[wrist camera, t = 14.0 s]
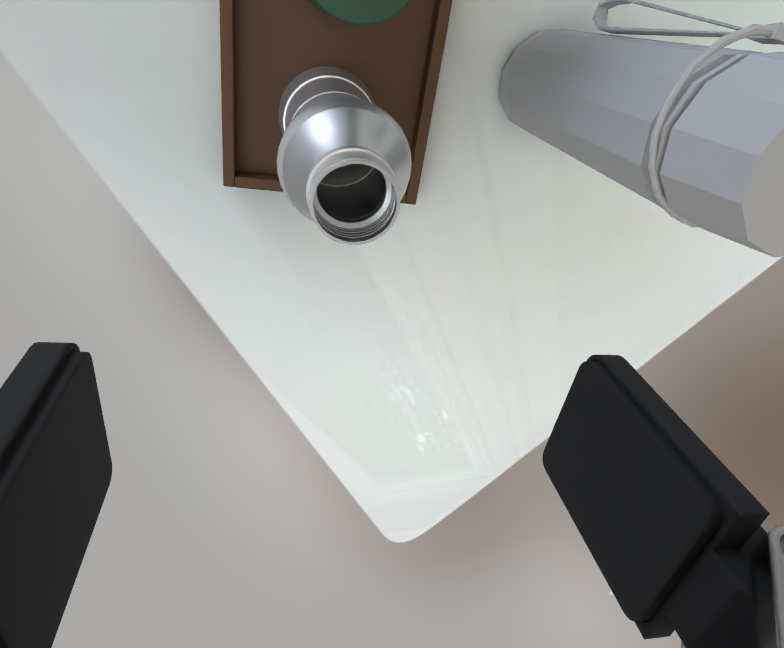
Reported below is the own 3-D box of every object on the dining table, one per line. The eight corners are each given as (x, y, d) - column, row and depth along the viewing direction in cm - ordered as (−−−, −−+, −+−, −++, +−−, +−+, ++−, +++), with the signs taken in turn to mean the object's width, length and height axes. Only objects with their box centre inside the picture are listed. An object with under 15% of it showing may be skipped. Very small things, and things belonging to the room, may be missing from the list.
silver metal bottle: (273, 63, 35) (255, 124, 18) (370, 59, 36) (439, 114, 19) (285, 159, 38) (280, 283, 22) (374, 153, 39) (434, 268, 23)
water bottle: (566, 141, 42) (837, 282, 21) (478, 119, 40) (683, 252, 19) (617, 13, 37) (1026, 32, 16) (521, -18, 35) (851, -43, 14)
